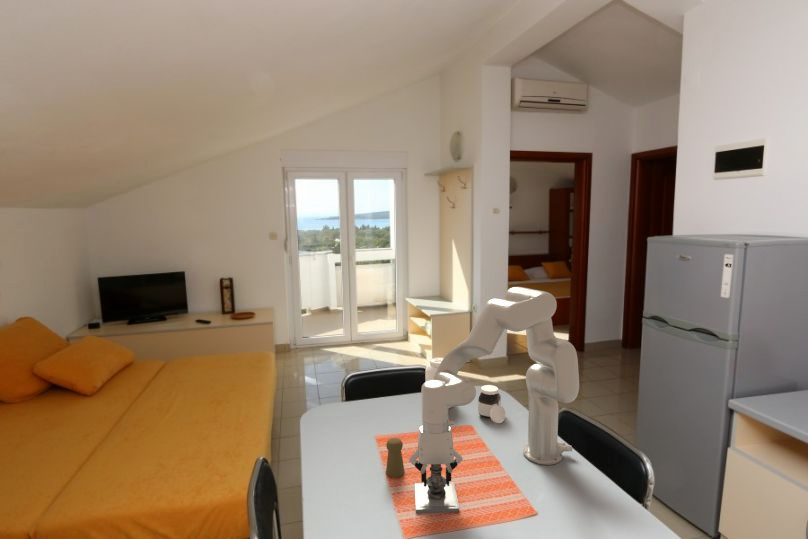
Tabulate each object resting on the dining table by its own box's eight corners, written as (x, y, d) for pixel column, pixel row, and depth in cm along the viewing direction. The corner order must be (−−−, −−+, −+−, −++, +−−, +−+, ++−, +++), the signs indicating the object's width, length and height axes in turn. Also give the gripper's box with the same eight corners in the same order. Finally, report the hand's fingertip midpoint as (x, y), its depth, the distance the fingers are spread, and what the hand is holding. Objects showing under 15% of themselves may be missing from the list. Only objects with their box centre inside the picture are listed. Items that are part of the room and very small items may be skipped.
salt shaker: (445, 500, 127) (444, 460, 125) (424, 497, 128) (424, 458, 126) (447, 487, 132) (447, 449, 131) (427, 485, 133) (427, 447, 132)
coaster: (454, 485, 136) (454, 482, 136) (459, 511, 124) (459, 507, 124) (414, 486, 136) (414, 483, 136) (416, 512, 124) (415, 509, 124)
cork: (390, 479, 140) (389, 446, 139) (382, 470, 145) (381, 438, 144) (407, 474, 143) (407, 441, 141) (399, 465, 148) (398, 433, 147)
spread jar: (486, 408, 189) (486, 382, 188) (511, 415, 182) (512, 388, 181) (473, 419, 179) (473, 391, 178) (499, 427, 173) (499, 398, 171)
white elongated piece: (424, 409, 190) (423, 363, 187) (427, 397, 202) (426, 354, 199) (453, 410, 187) (453, 364, 185) (455, 398, 200) (455, 355, 197)
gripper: (463, 417, 131) (464, 475, 133) (404, 419, 131) (406, 476, 133) (467, 429, 124) (467, 490, 126) (405, 431, 124) (406, 492, 126)
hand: (436, 482), depth 130 cm, fingers closed on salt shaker, 5 cm apart
